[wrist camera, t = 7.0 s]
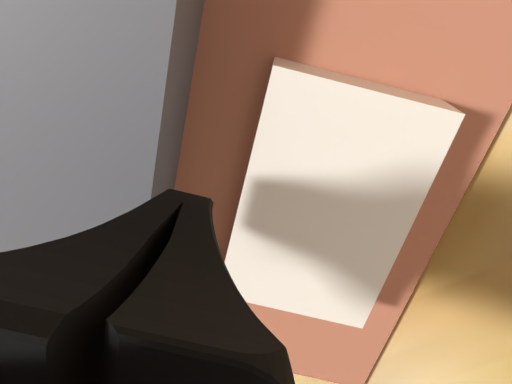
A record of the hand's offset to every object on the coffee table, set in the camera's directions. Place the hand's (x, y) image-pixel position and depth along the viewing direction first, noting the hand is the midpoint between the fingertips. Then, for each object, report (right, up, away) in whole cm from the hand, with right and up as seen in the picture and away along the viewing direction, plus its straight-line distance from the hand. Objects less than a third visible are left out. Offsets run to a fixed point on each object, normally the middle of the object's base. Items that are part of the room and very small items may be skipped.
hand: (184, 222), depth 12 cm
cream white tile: (+4, 0, +2) cm, 5 cm away
